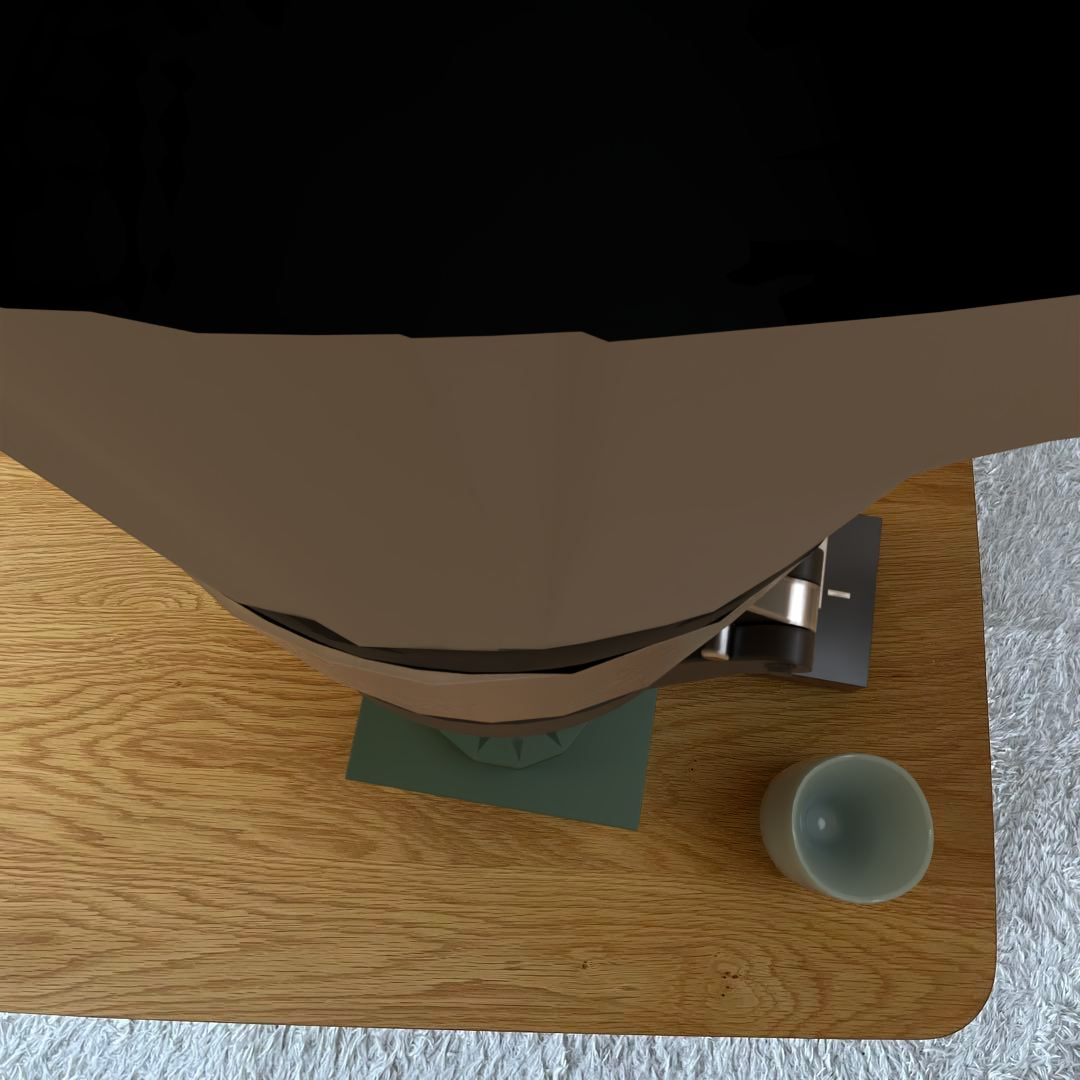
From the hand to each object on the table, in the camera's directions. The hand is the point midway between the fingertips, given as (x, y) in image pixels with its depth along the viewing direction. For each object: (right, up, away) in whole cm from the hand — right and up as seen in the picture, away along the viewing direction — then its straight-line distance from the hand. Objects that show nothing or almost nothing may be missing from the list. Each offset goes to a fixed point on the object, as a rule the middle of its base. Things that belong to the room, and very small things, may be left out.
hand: (508, 663), depth 35 cm
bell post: (-1, -7, +27) cm, 28 cm away
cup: (+18, -13, +26) cm, 34 cm away
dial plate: (+15, +1, +30) cm, 33 cm away
